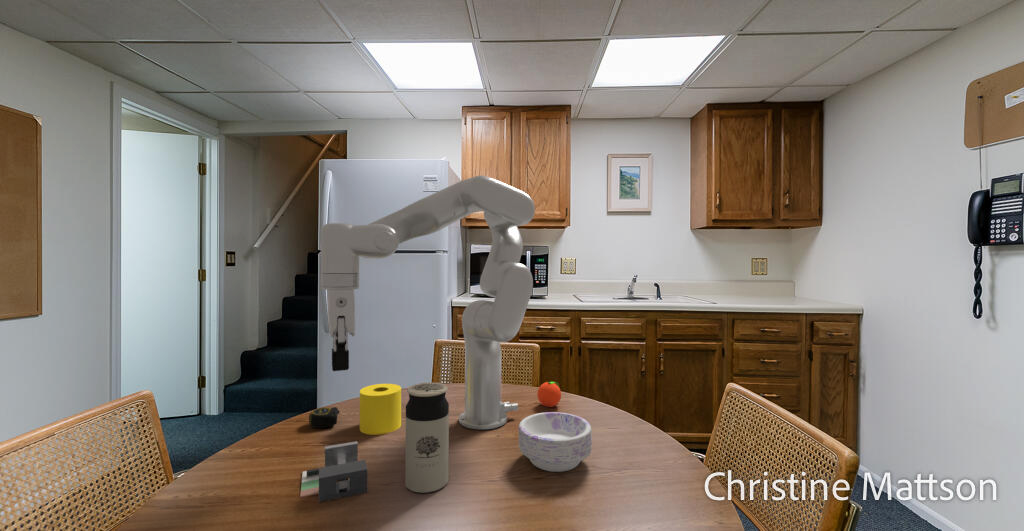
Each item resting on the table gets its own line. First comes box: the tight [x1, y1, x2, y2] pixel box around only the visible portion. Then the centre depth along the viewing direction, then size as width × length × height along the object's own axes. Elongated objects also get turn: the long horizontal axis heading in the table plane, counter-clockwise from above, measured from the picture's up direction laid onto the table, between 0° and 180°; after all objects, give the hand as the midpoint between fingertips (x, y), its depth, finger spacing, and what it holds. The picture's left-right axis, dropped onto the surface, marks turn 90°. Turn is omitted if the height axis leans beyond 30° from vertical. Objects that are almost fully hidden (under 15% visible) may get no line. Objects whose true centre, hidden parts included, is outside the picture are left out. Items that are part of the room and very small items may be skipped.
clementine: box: [536, 381, 562, 408], centre depth 122 cm, size 8×7×7 cm
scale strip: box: [299, 470, 319, 498], centre depth 79 cm, size 3×10×1 cm, turn 24°
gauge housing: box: [318, 459, 369, 503], centre depth 76 cm, size 8×4×4 cm, turn 114°
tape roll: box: [359, 383, 402, 436], centre depth 106 cm, size 10×10×9 cm
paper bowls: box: [518, 411, 593, 473], centre depth 88 cm, size 15×15×8 cm
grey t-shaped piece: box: [306, 440, 359, 489], centre depth 78 cm, size 9×10×5 cm
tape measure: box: [308, 406, 340, 429], centre depth 107 cm, size 7×7×4 cm
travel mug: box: [404, 382, 450, 494], centre depth 79 cm, size 8×8×18 cm
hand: (340, 367), depth 89 cm, fingers open, 2 cm apart
